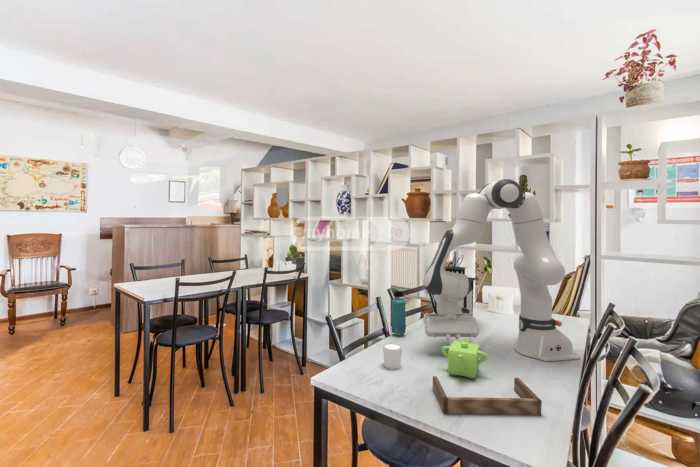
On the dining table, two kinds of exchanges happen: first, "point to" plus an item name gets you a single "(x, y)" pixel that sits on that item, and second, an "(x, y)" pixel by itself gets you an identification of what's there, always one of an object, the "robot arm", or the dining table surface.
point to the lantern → (468, 300)
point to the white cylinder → (392, 355)
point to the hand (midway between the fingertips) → (454, 346)
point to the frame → (490, 402)
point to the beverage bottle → (398, 314)
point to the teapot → (464, 358)
